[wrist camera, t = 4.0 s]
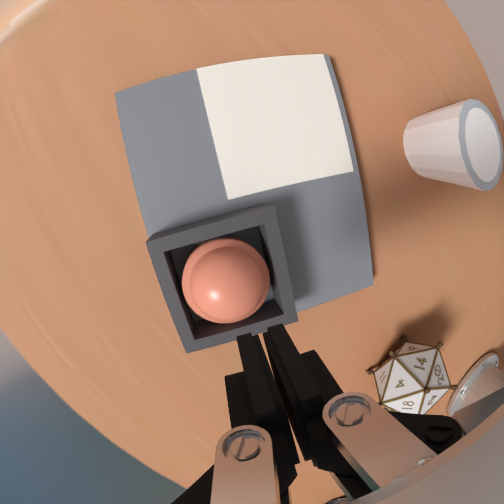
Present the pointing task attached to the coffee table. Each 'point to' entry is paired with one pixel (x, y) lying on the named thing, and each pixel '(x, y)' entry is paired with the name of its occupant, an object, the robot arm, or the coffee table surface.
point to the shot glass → (456, 145)
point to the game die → (412, 378)
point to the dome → (225, 279)
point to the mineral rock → (339, 501)
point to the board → (249, 183)
